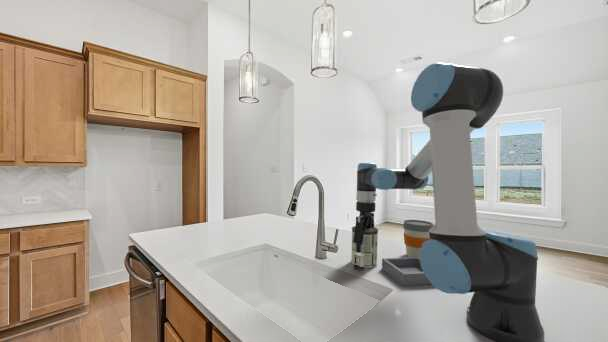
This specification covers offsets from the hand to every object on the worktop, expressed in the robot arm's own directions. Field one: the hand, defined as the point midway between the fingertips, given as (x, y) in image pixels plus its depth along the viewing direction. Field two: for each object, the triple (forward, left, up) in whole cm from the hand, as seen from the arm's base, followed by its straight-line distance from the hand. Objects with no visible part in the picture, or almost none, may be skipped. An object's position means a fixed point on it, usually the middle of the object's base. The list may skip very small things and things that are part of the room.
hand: (364, 256), depth 107 cm
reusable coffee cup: (+6, -28, -3) cm, 29 cm away
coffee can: (0, 0, -3) cm, 3 cm away
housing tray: (-14, -12, -3) cm, 19 cm away
